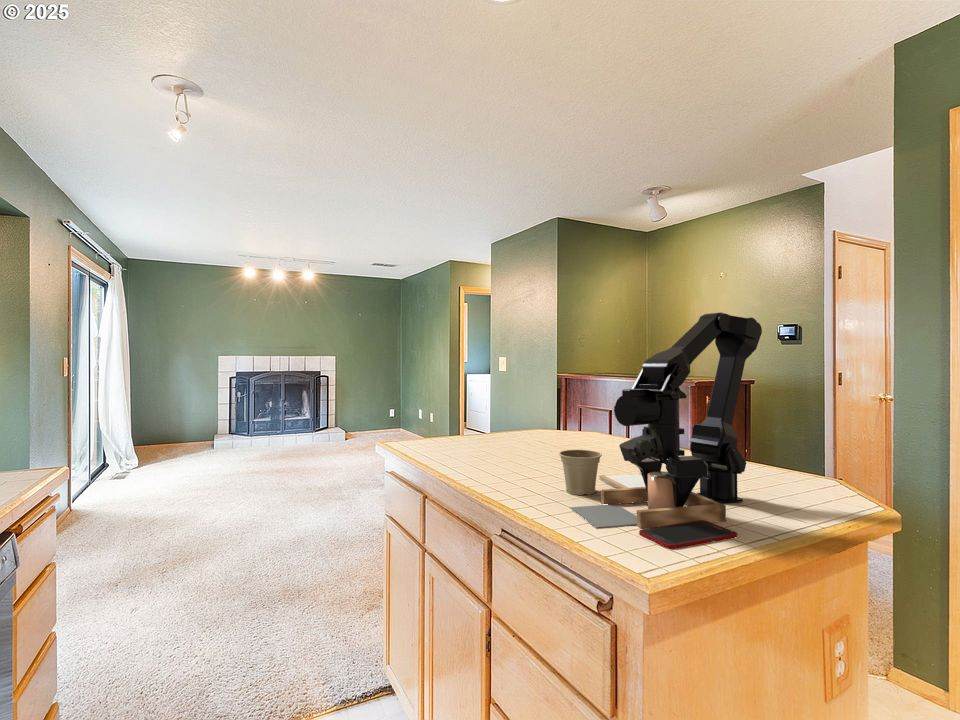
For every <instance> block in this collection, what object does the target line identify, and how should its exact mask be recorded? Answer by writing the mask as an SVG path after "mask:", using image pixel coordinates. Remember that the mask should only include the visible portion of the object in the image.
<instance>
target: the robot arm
mask: <svg viewBox="0 0 960 720" xmlns="http://www.w3.org/2000/svg"><path fill="white" fill-rule="evenodd" d="M762 333H763V329H762V325H761V324H760V322H758V320H756V318H754V317H752V316H751V317H742V316H737V315H736V316H735V315H731V314H729V313H728V314H727V313H726V312H725V313H724V312H711V313H704V314H702V315H701V316H700V317H698V320H697V322H695V323H694V324H693V326H692V327H691V328H689V330H688V331H686V332H685V333H684V334H683V335H682V336H681V337H680V338H679V339H678V340H677V341H676V342H675V343H674V344H673V345H672V346H671V347H669V348H668V349H666V350H662V351H660V352H657V353H655V354H653V355H652V356H650V357H649V358H647V359H645V361H644V362H643V364H642V366H641V370H640V372H639V374H638V375H637V378H636V380H635V381H634V383H633V385H632V388H623V389H621V392H622V393H621V396H620V397H618V398H617V399H616V402H615V405H614V407H613V413H614V417H615V418H616V420H617V422H618V423H619V424H620V425H621V426H624V427H631V426H632V427H633V426H642V425H643V428H642V434H641V435H639V436H635V437H633V438H630V439H629V440H626V441H624V442H622V443H620V444H619V448H620V452H621V455H622V458H623V460H624V461H625V462H630V463H631V464H633V465H634V466H635V467H637V468H638V470H639V472H640V473H641V474H642V477H643V480H644V483H645V487H646V490H647V493H648V473H651V472H656V471H662V467H663V464H664V465H665V469H666V472H668V473H669V474H666V476H667V477H668V478H669V479H670V480H671V482H672V486H673V496H674V504H675V507H685V506H686V505H685V503H686V501H687V499H688V497H689V495H690V493H691V491H692V492H693V490H694V488H695V487H696V486H697V483H698V482H699V492H696V494H699V495H701V496H704V497H706V498H709V499H711V500H713V501H716V502H718V503H721V504H725V503H727V504H728V503H738V502H743V501H744V499H743V497H739V496H738V475H742V473H744V472H745V471H746V466H747V461H746V459H745V458H744V456H743V455H742V454H741V452H740V451H739V450H738V449H739V448H738V437H737V434H736V433H735V430H734V427H733V420H734V416H735V411H736V406H737V403H738V402H737V401H738V397H739V393H740V388H741V383H742V377H743V373H744V367H745V364H746V361H747V359H748V358H749V357H750V356H751V355H752V354H753V353H754V352H755V351H756V350H757V348H758V345H759V341H760V339H761V336H762ZM713 341H714V343H715V347H716V348H717V351H718V354H719V360H718V363H717V364H718V365H717V367H716V372H715V377H714V383H713V386H712V391H711V395H710V401H709V405H708V409H707V414H706V418H705V419H704V420H703V421H702V422H701V423H695V424H694V425H693V427H692V433H691V436H690V437H691V438H690V439H689V443H690V446H689V447H690V448H689V449H690V453H691V455H685V453H686V451H685V450H684V449H681V445H680V443H681V439H680V438H681V437H680V435H685V428H681V427H680V399H681V400H682V399H687V398H688V397H687V394H686V392H684V391H682V390H681V388H680V387H681V386H682V385H683V384H684V383H685V381H686V379H687V377H688V376H689V375H690V373H691V365H692V363H693V362H694V361H695V359H697V358H698V357H699V356H700V354H701V353H703V351H705V350H706V349H707V348H708V346H709V345H710V344H712V342H713ZM644 425H647V426H644Z"/></svg>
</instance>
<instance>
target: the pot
mask: <svg viewBox="0 0 960 720" xmlns="http://www.w3.org/2000/svg"><path fill="white" fill-rule="evenodd" d="M666 474H669V473H668V471H662V470H661V471H656V472H651V473H648V502H647V509H659V508H672V507H675V504H674V496H673V486H672V482H671V480H670V479H669V478H668V477H667V476H666Z"/></svg>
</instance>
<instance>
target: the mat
mask: <svg viewBox="0 0 960 720" xmlns="http://www.w3.org/2000/svg"><path fill="white" fill-rule="evenodd" d="M569 509H570V510H571V509H572V510H571V511H573V512H574V511H575V512H576V513H575V512H574V513H575V514H577V513H578V514H579V515H580V516H579V515H578V514H577V515H578V516H579V517H581V516H582V517H583V518H584V519H583V518H582V517H581V518H582V519H583V520H585V519H586V520H587V521H588V522H589V523H588V522H587V521H586V520H585V521H586V522H587V523H588V524H590V523H591V524H592V525H593V526H592V525H591V524H590V525H591V526H592V527H594V526H595V527H596V528H595V527H594V528H595V529H600V528H599V527H607V528H618V527H617V526H619V527H629V525H631V526H637V514H634V513H633V512H631V511H629V510H627V509H626V508H625V507H622V506H620V504H608V505H603V504H598V505H597V504H595V505H583V506H569Z"/></svg>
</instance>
